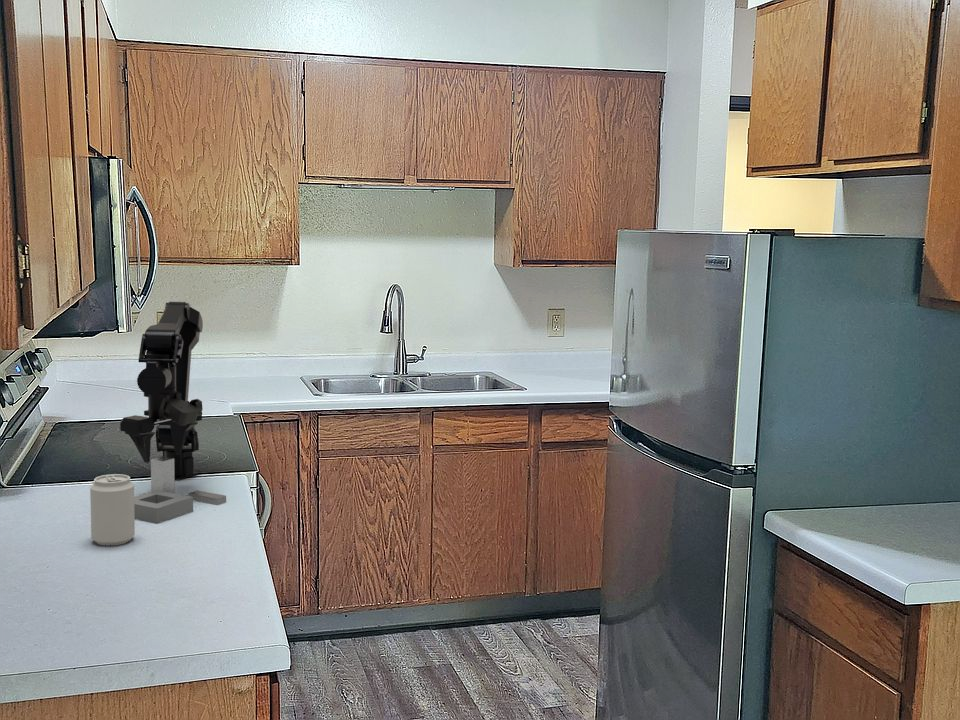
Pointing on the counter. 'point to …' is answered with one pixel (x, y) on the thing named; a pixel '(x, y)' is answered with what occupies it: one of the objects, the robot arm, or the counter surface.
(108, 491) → the can
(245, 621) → the counter surface
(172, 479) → the square bit
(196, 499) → the flat bit
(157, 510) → the bore block
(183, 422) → the robot arm
